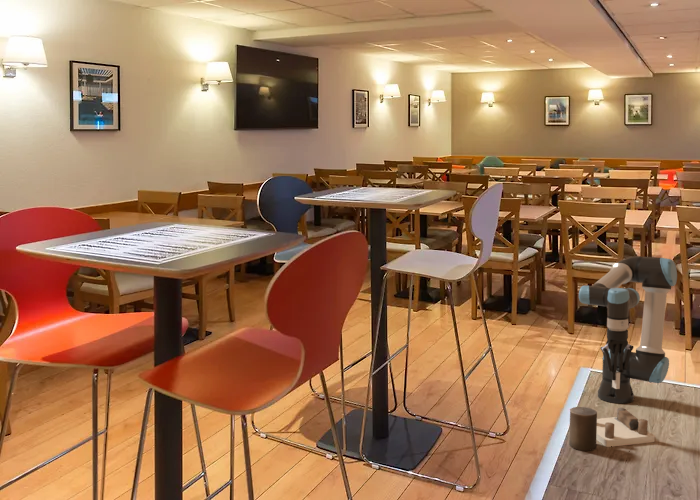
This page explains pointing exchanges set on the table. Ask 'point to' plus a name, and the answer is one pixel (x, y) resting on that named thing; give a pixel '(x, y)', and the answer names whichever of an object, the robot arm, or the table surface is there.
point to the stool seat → (622, 433)
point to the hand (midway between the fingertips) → (615, 387)
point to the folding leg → (627, 418)
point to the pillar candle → (583, 428)
